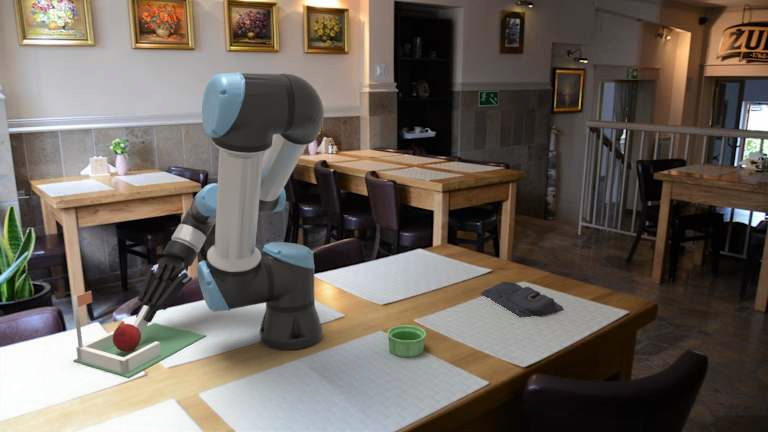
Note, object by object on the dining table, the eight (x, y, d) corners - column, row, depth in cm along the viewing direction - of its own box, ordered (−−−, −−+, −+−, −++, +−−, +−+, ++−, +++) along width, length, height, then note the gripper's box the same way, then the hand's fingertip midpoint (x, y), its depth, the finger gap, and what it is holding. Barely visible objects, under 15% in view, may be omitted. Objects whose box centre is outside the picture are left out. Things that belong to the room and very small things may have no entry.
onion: (140, 357, 129) (127, 328, 126) (115, 361, 129) (102, 332, 126) (149, 340, 134) (137, 312, 131) (125, 344, 135) (112, 316, 131)
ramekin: (398, 362, 129) (399, 344, 128) (380, 346, 137) (380, 329, 136) (432, 354, 133) (433, 336, 132) (413, 339, 141) (413, 322, 140)
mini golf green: (160, 354, 131) (155, 292, 127) (124, 374, 122) (117, 307, 119) (115, 342, 137) (109, 282, 133) (77, 360, 128) (70, 296, 125)
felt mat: (205, 336, 141) (205, 335, 141) (128, 378, 121) (128, 376, 121) (154, 324, 148) (154, 322, 148) (73, 361, 128) (73, 360, 128)
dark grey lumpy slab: (517, 288, 178) (518, 273, 177) (567, 313, 159) (569, 296, 158) (475, 295, 172) (476, 280, 171) (523, 322, 152) (524, 305, 151)
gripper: (212, 257, 145) (165, 345, 135) (173, 249, 151) (125, 333, 140) (195, 242, 139) (145, 333, 129) (156, 235, 145) (105, 321, 134)
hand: (135, 333), depth 134 cm, fingers closed
